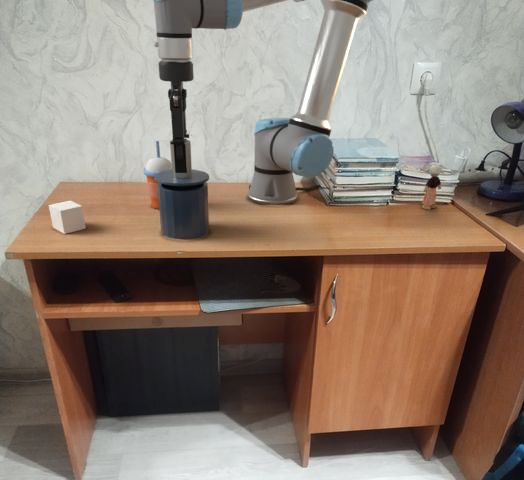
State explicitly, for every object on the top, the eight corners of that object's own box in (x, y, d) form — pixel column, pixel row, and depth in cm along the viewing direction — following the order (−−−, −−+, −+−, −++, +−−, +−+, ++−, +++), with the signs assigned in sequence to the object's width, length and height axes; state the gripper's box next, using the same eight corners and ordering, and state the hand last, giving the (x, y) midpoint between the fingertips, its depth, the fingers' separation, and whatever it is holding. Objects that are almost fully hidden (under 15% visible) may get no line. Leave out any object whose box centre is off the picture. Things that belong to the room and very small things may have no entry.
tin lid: (209, 173, 134) (208, 135, 129) (208, 188, 123) (207, 147, 118) (157, 173, 133) (154, 135, 128) (152, 188, 122) (148, 147, 117)
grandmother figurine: (427, 203, 161) (436, 161, 154) (439, 206, 159) (448, 163, 152) (415, 208, 156) (424, 165, 149) (427, 212, 154) (436, 168, 147)
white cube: (74, 222, 139) (70, 200, 136) (85, 228, 136) (82, 205, 132) (52, 227, 135) (48, 205, 132) (64, 234, 132) (60, 210, 129)
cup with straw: (171, 212, 148) (167, 145, 138) (141, 209, 149) (135, 143, 140) (182, 202, 155) (178, 139, 146) (153, 200, 157) (148, 136, 147)
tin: (209, 224, 141) (207, 177, 134) (208, 241, 130) (207, 191, 123) (163, 224, 140) (160, 177, 133) (159, 241, 129) (155, 191, 123)
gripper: (162, 56, 121) (169, 160, 133) (154, 63, 106) (162, 179, 118) (194, 57, 121) (198, 160, 134) (191, 64, 106) (196, 179, 119)
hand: (181, 169), depth 126 cm, fingers closed on tin lid, 5 cm apart
